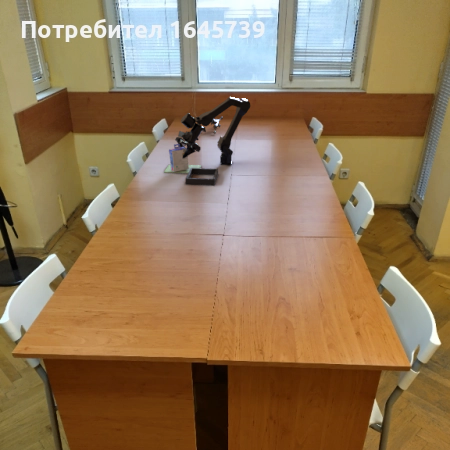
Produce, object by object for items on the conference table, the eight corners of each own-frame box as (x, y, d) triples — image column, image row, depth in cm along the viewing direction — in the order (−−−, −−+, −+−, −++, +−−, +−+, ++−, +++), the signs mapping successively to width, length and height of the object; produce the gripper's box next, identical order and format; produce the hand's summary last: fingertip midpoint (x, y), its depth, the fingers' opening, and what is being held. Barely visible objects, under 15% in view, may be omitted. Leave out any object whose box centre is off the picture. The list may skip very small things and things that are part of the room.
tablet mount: (208, 143, 341) (220, 125, 333) (192, 131, 337) (205, 113, 329) (211, 134, 363) (223, 117, 355) (196, 123, 359) (208, 105, 351)
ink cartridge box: (185, 167, 271) (183, 142, 263) (189, 169, 267) (187, 144, 259) (170, 170, 267) (168, 144, 260) (174, 172, 263) (171, 147, 255)
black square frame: (218, 174, 262) (218, 168, 260) (214, 185, 247) (214, 179, 245) (190, 173, 263) (190, 167, 261) (185, 184, 249) (185, 178, 247)
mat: (201, 166, 275) (201, 165, 275) (197, 173, 263) (197, 172, 263) (168, 165, 277) (168, 164, 276) (164, 172, 265) (164, 171, 265)
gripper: (176, 122, 263) (162, 145, 263) (195, 128, 251) (180, 152, 251) (188, 133, 271) (174, 155, 272) (207, 140, 259) (192, 163, 260)
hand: (180, 156), depth 263 cm, fingers closed on ink cartridge box, 6 cm apart
